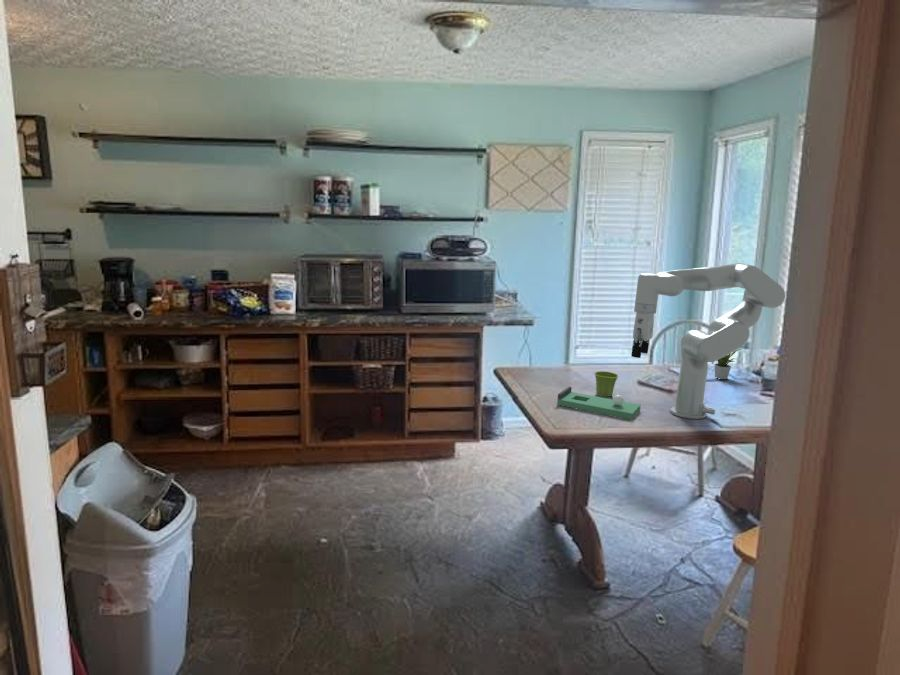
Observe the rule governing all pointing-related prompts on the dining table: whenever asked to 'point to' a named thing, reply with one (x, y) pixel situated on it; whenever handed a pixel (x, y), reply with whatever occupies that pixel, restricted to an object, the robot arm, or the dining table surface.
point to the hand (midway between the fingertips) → (639, 354)
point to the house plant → (723, 366)
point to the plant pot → (605, 383)
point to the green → (597, 404)
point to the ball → (618, 400)
